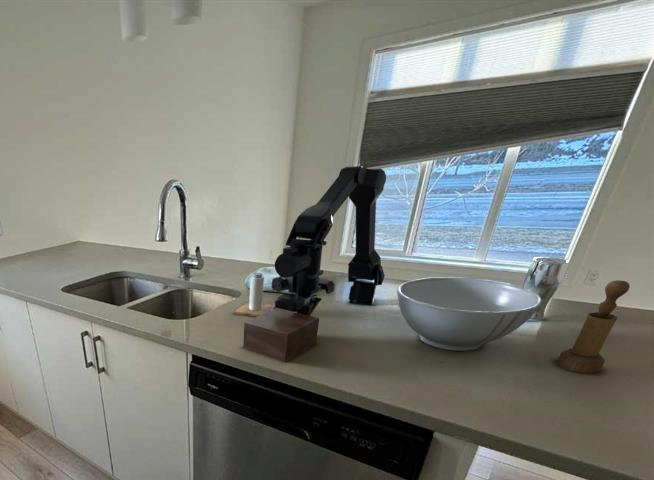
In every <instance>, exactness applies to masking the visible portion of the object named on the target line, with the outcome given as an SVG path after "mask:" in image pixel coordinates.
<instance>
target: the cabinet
mask: <svg viewBox="0 0 654 480" xmlns="http://www.w3.org/2000/svg"><path fill="white" fill-rule="evenodd" d="M319 324H320V317H316V316H313V315H312V316H311V315H310V316H308V315H304V314H299V313H297V312H291V311H287V310H283V309H279V308H274V309H273V310H271V311H268V312H266V313H264V314H262V315H260V316H257V317H256V316H254V317H253V318H251V319H249V320H246V321H244V322H243V343H242V348H243V349H246V350H249V351H251V352H254V353H257V354H261V355H264V356H267V357H269V358H272V359H275V360H279V361H281V362H287V361H289V360H291V359H292V358H295V357H296V356H297V355H299V354H301V353H303V352H305V351H307V350H308V349H310V348H312V347H313V346H315V345H317V340H318V339H317V338H318V331H319Z"/></svg>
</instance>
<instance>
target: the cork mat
mask: <svg viewBox="0 0 654 480" xmlns="http://www.w3.org/2000/svg"><path fill="white" fill-rule="evenodd" d="M273 309H275V304H268V303H262V309H261V310H250V309H249V301H245V302H244V303H243V304H242V305H240V306H239V307H238V308H237V309H235V311H234V314H233V315H240V316H249V317H257V316H260V315H262V314H264V313H266V312H268V311H271V310H273Z"/></svg>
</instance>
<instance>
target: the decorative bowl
mask: <svg viewBox="0 0 654 480" xmlns="http://www.w3.org/2000/svg"><path fill="white" fill-rule="evenodd" d="M396 297H397V303H398V307H399V310H400V313H401V315H402V317H403V319H404V321H405V323H407V325H408V326H409V327H410V328H411V330H413V331H414V332H415V333H416V334H418V335H419V338H420V340H421V341H422V342H424V343H425V344H426V345H429V346H432V347H435V348H439V349H443V350H449V351H460V352H461V351H472V350H477V349H479V348H480V347H481V346H482V345H485V344H488V343H492V342H495V341H497V340H500V339H502V338H504V337H506V336H507V335H510V334H512V333H513V332H515V331H516V330H517V329H518V328H520V327H521V326H523V325H524V324H525V323H527V320H528V319H529V318H530V317H531V316H532V315H533V314H534V313H535V312H536V311H537V309H538V308H539V307H540V305H541V303H542V299H541V298H540V296H538V295H537V294H536V293H534V292H532V291H530V290H527V289H525V288H523V286H522V287H521V286H519V285H515V284H511V283H507V282H503V281H496V280H489V279H480V278H475V277H474V278H471V277H457V276H455V277H454V276H439V277H435V276H434V277H425V278H424V277H423V278H417V279H413V280H409V281H406V282H403V283H402V284H400V285H399V286H398V288H397V290H396Z"/></svg>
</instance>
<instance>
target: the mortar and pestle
mask: <svg viewBox="0 0 654 480" xmlns="http://www.w3.org/2000/svg"><path fill="white" fill-rule="evenodd" d="M630 288H631V287H630V283H629V282H628V281H626V280H618V279H617V280H612V281H610V282H608V283H607V284H606V285H605V288H604V293H605V299H604V301H601V302H600V303H599V305H598V312H589V313H587V315H586V318H585V321H584V322H583V325H582V327H581V329H580V331H579V333H578V336H577V338H576V340H575V341H574V343H573V346H572V348H567V349H564V350H562V351H561V352H560V354H559V356H558V357H557V359H556V364H557V365H558V366H559V367H561V368H564V369H566V370H569V371H573V372H576V373H583V374H595V373H599V372H600V371H601V370H602V368H603V366H604V364H605V362H606V359H605V357H603V355H601V353H600V352H601V351H602V348H603V346H604V344H605V342H606V341H607V338H608V337H609V334H610V333H611V330H612V329H613V327H614V325H615V323H616V321H617V320H618V316H617V315H615V314H612V312H613V311H614V310H615V309H616V308H617V307H618V304H617V301H618V300H619V298H621V297H622V296H624V295H626V294H627V292H629V290H630Z"/></svg>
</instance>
